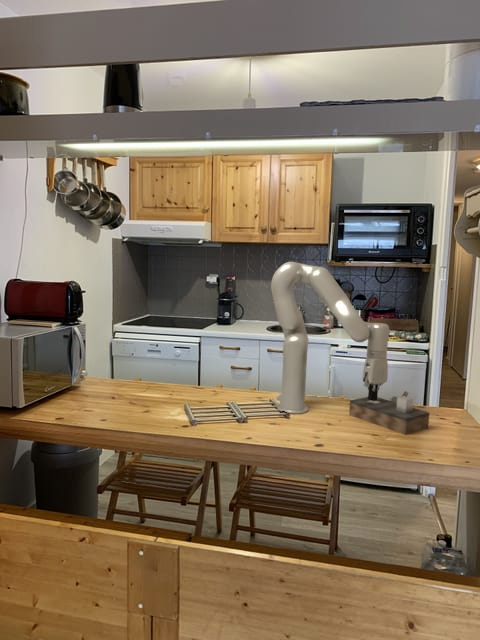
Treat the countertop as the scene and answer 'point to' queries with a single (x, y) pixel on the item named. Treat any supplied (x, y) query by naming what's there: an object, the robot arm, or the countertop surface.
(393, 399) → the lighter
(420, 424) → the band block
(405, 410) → the peg
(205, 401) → the countertop surface
